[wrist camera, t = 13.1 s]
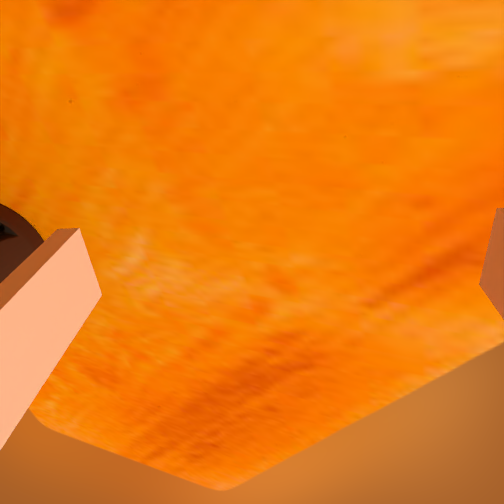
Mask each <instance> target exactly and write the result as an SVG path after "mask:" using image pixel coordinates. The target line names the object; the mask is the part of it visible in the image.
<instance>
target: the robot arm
mask: <svg viewBox="0 0 504 504" xmlns="http://www.w3.org/2000/svg"><path fill="white" fill-rule="evenodd" d="M479 285H480V286H481V288H482V289H483V290H484V292H485V293H486V295H487V296H488V298H489V299H490V301H491V302H492V303H493V305H494V306H495V308H496V309H497V311H498V312H499V313H500V315H501V316H502V318H503V319H504V208H497V210H496V214H495V219H494V223H493V227H492V231H491V236H490V240H489V244H488V249H487V253H486V257H485V262H484V266H483V270H482V274H481V279H480V283H479ZM101 296H102V294H101V291H100V288H99V285H98V282H97V279H96V276H95V273H94V270H93V267H92V264H91V261H90V258H89V255H88V252H87V249H86V247H85V244H84V241H83V238H82V235H81V232H80V229H79V228H71V229H57V230H56V231H55V232H54V233H53V234H52V235H51V236H50V237H49V238H48V239H47V240H46V241H45V242H44V241H43V239H42V238H41V236H40V235H39V234H38V232H37V231H36V230H35V229H34V228H33V227H32V226H31V225H30V224H29V223H28V222H27V221H26V220H25V219H23V218H22V217H21V216H19V215H18V214H17V213H15V212H13V211H12V210H10V209H8V208H6V207H4V206H2V205H0V450H1V448H2V447H3V445H4V444H5V442H6V440H7V439H8V438H9V436H10V434H11V433H12V431H13V430H14V428H15V427H16V425H17V424H18V422H19V421H20V419H21V418H22V416H23V415H24V413H25V412H26V410H27V409H28V407H29V406H30V404H31V403H32V401H33V399H34V398H35V396H36V395H37V393H38V392H39V390H40V389H41V387H42V386H43V384H44V383H45V381H46V380H47V378H48V377H49V375H50V374H51V372H52V370H53V369H54V367H55V366H56V364H57V363H58V361H59V360H60V358H61V357H62V355H63V354H64V352H65V351H66V349H67V348H68V346H69V345H70V343H71V341H72V340H73V338H74V337H75V335H76V334H77V332H78V331H79V329H80V328H81V326H82V325H83V323H84V322H85V320H86V319H87V317H88V315H89V314H90V312H91V311H92V309H93V308H94V306H95V305H96V303H97V302H98V300H99V299H100V297H101Z"/></svg>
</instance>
